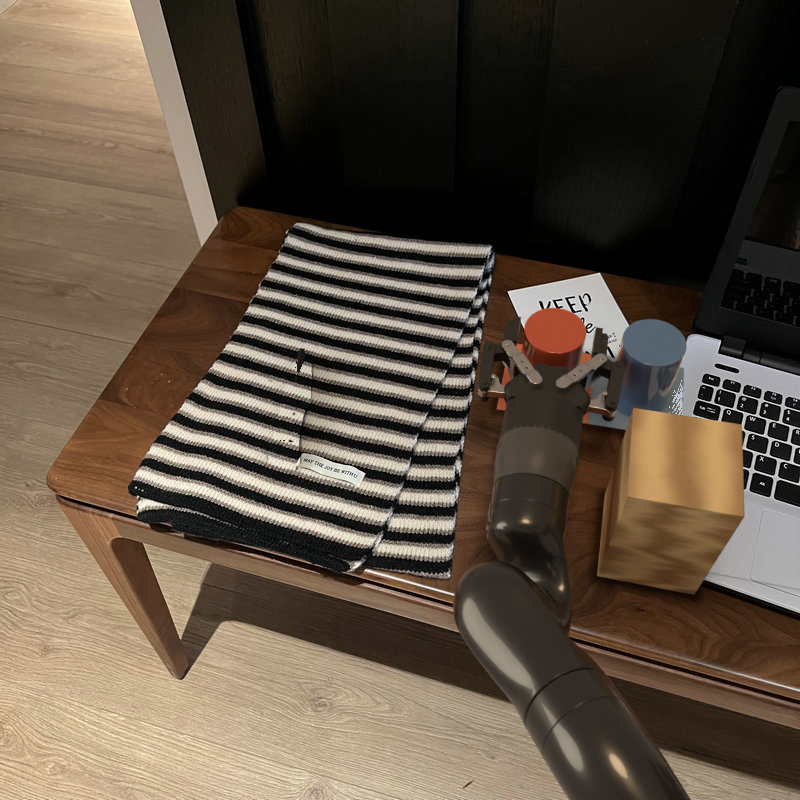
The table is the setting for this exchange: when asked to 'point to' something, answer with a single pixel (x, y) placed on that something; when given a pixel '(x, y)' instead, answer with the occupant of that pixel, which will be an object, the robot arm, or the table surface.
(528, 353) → the orange cylinder
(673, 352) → the upturned slate cup
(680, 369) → the board
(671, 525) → the stand
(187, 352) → the table surface
